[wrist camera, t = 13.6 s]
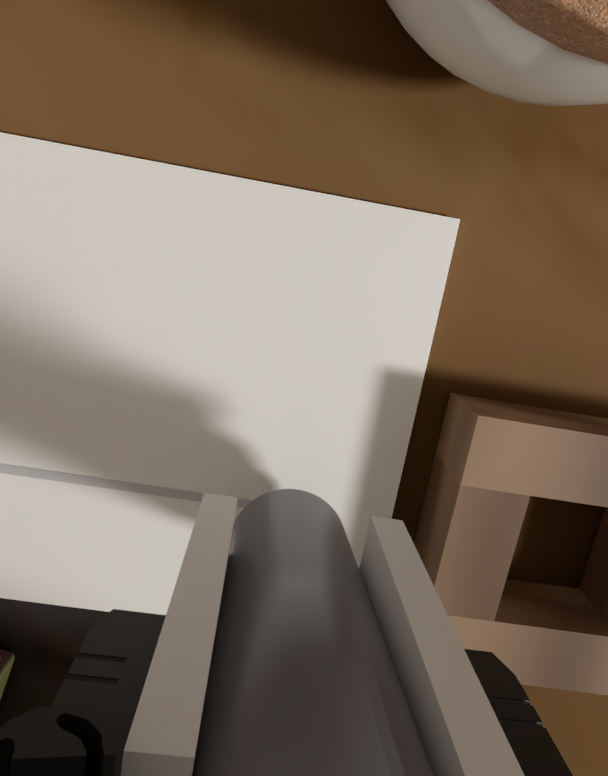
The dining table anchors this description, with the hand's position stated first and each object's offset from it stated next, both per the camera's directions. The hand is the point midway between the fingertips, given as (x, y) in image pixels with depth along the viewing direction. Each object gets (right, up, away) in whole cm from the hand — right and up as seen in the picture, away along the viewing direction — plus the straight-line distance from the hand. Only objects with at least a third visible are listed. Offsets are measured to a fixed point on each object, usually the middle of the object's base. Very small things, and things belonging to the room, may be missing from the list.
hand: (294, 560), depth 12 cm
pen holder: (+8, -1, +5) cm, 10 cm away
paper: (-6, +4, +4) cm, 8 cm away
